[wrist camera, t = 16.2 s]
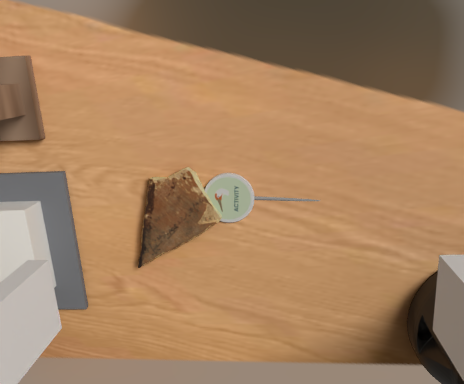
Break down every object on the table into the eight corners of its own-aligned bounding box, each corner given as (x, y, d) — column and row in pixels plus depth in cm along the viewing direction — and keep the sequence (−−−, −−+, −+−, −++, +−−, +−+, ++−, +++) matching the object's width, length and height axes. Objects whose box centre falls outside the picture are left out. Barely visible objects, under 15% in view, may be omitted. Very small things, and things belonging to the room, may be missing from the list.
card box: (56, 285, 48) (42, 299, 45) (-3, 285, 49) (-20, 299, 46) (40, 200, 45) (24, 210, 42) (-22, 202, 46) (-42, 211, 43)
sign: (349, 226, 43) (203, 221, 44) (348, 223, 44) (204, 218, 45) (355, 177, 42) (202, 173, 43) (353, 175, 43) (204, 171, 44)
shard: (142, 262, 47) (137, 269, 45) (102, 205, 46) (95, 210, 44) (225, 217, 45) (223, 223, 43) (186, 155, 43) (182, 159, 42)
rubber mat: (-51, 175, 46) (-55, 176, 45) (65, 171, 44) (62, 172, 44) (-18, 306, 50) (-21, 309, 50) (88, 306, 49) (86, 309, 48)
